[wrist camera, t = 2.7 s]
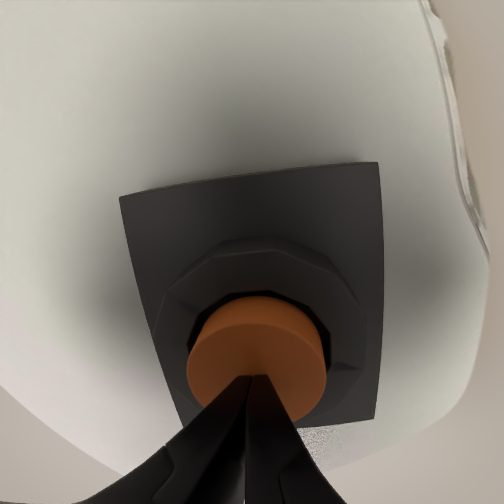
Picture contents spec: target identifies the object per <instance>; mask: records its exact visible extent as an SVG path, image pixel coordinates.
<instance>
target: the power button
mask: <svg viewBox="0 0 504 504" xmlns="http://www.w3.org/2000/svg"><path fill="white" fill-rule="evenodd" d="M259 374H267V375H268V376H269V378H270V380H271V382H272V384H273V386H274V388H275V390H276V392H277V394H278V395H279V397H280V399H281V401H282V403H283V405H284V407H285V409H286V411H287V413H288V415H289V417H290V418H291V420H292V422H294V421H296V420H298V419H300V418H302V417H303V416H305V415H306V414H307V413H309V412H310V411H311V410H312V409H313V408H314V407H315V406H316V404H317V403H318V402H319V400H320V398H321V397H322V394H323V392H324V390H325V386H326V377H327V376H326V367H325V361H324V356H323V350H322V344H321V339H320V336H319V332H318V330H317V328H316V326H315V325H314V323H313V322H312V320H311V319H310V318H309V317H308V316H307V315H306V314H305V313H304V312H303V311H302V310H300V309H299V308H297V307H296V306H294V305H292V304H290V303H288V302H286V301H283V300H280V299H277V298H273V297H267V296H249V297H243V298H239V299H235V300H233V301H230V302H228V303H226V304H224V305H223V306H221V307H219V308H218V309H217V310H216V311H214V312H213V313H212V314H211V315H210V317H209V318H208V319H207V321H206V322H205V324H204V326H203V328H202V330H201V332H200V334H199V336H198V338H197V341H196V343H195V345H194V347H193V349H192V351H191V353H190V355H189V358H188V362H187V379H188V383H189V386H190V389H191V391H192V393H193V395H194V396H195V398H196V399H197V400H198V402H199V403H200V404H201V405H202V406H203V407H204V408H205V407H206V406H207V405H208V404H209V403H210V402H211V401H212V400H213V399H214V398H215V397H216V396H217V395H219V394H220V393H221V392H222V391H223V390H224V389H225V388H226V387H227V386H228V385H229V384H230V383H231V382H232V381H233V380H234V379H235V378H236V377H237V376H239V375H251V376H252V377H253V376H254V375H259Z"/></svg>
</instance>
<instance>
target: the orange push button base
mask: <svg viewBox="0 0 504 504" xmlns="http://www.w3.org/2000/svg"><path fill="white" fill-rule="evenodd" d="M119 202H120V208H121V213H122V218H123V224H124V229H125V233H126V238H127V243H128V248H129V252H130V257H131V261H132V265H133V269H134V274H135V278H136V282H137V286H138V290H139V293H140V297H141V301H142V305H143V308H144V312H145V315H146V319H147V323H148V326H149V329H150V333H151V336H152V339H153V343H154V346H155V349H156V352H157V355H158V358H159V361H160V365H161V368H162V371H163V373H164V376H165V379H166V382H167V385H168V388H169V391H170V393H171V396H172V399H173V402H174V404H175V407H176V410H177V412H178V415H179V418H180V420H181V423H182V425H183V428H184V427H185V426H186V425H187V424H188V423H189V422H190V421H191V420H192V419H193V418H194V417H196V416H197V415H198V414H199V413H200V412H201V411H202V410H203V409H204V407H203V406H202V405H201V404H200V403H199V402H198V400H197V399H196V398H195V396H194V395H193V393H192V391H191V389H190V386H189V383H188V379H187V362H188V358H189V355H190V353H191V351H192V349H193V347H194V345H195V343H196V341H197V338H198V336H199V334H200V332H201V330H202V328H203V326H204V324H205V322H206V321H207V319H208V318H209V317H210V315H211V314H212V313H213V312H214V311H216V310H217V309H218V308H219V307H221V306H223V305H224V304H226V303H228V302H230V301H233V300H235V299H239V298H243V297H249V296H267V297H273V298H277V299H280V300H283V301H286V302H288V303H290V304H292V305H294V306H296V307H297V308H299V309H300V310H302V311H303V312H304V313H305V314H306V315H307V316H308V317H309V318H310V319H311V320H312V322H313V323H314V325H315V326H316V328H317V330H318V332H319V336H320V339H321V344H322V350H323V356H324V361H325V367H326V376H327V377H326V386H325V390H324V392H323V394H322V397H321V398H320V400H319V402H318V403H317V404H316V406H315V407H314V408H313V409H312V410H311V411H310V412H309V413H307V414H306V415H305V416H303V417H302V418H300V419H298V420H296V421H294V422H293V424H294V426H295V428H308V427H319V426H328V425H336V424H344V423H351V422H358V421H364V420H370V419H374V416H375V408H376V401H377V392H378V383H379V373H380V362H381V349H382V333H383V310H384V240H383V217H382V201H381V187H380V176H379V166H378V162H354V163H341V164H329V165H318V166H308V167H298V168H289V169H280V170H272V171H264V172H256V173H249V174H241V175H234V176H227V177H221V178H214V179H208V180H202V181H195V182H190V183H184V184H178V185H172V186H167V187H161V188H156V189H151V190H146V191H141V192H137V193H133V194H129V195H125V196H121V197H119Z"/></svg>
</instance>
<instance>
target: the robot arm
mask: <svg viewBox="0 0 504 504" xmlns="http://www.w3.org/2000/svg"><path fill="white" fill-rule="evenodd" d="M244 500H245V504H347V503H345V501H344V500H343V499H342V498H341V496H339V494H338V493H337V492H336V491H335V489H333V487H332V486H331V485H330V484H329V482H328V481H327V479H326V478H325V477H324V476H323V474H322V473H321V472H320V470H319V468H318V467H317V465H316V464H315V462H314V460H313V459H312V457H311V455H310V453H309V452H308V450H307V448H306V446H305V445H304V443H303V441H302V439H301V437H300V435H299V433H298V432H297V430H296V428H295V426H294V424H293V422H292V420H291V418H290V417H289V415H288V413H287V411H286V409H285V407H284V405H283V403H282V401H281V399H280V397H279V395H278V394H277V392H276V390H275V388H274V386H273V384H272V382H271V380H270V378H269V376H268V375H267V374H259V375H254V376H253V377H252V376H251V375H239V376H237V377H236V378H235V379H234V380H233V381H232V382H231V383H230V384H229V385H228V386H227V387H226V388H225V389H224V390H223V391H222V392H221V393H220V394H219V395H217V396H216V397H215V398H214V399H213V400H212V401H211V402H210V403H209V404H208V405H207V406H206V407H205V408H204V409H203V410H202V411H201V412H200V413H199V414H198V415H197V416H196V417H194V418H193V419H192V420H191V421H190V422H189V423H188V424H187V425H186V426H185V427H184V428H183V429H182V430H180V431H179V432H178V433H177V434H176V435H175V436H174V437H173V438H172V439H171V440H169V441H168V442H167V443H166V444H165V446H163V447H161V448H160V449H159V450H158V451H157V452H156V453H155V454H153V455H152V456H151V457H150V458H149V459H147V460H146V461H145V462H144V463H142V464H141V465H140V466H138V467H137V468H135V469H134V470H133V471H131V472H130V473H128V474H127V475H125V476H124V477H122V478H121V479H119V480H118V481H116V482H115V483H113V484H111V485H110V486H108V487H107V488H105V489H103V490H102V491H100V492H98V493H97V494H96V495H93V496H92V497H90V498H88V499H86V500H83V501H81V502H77V503H73V504H244ZM0 504H25V503H11V502H2V501H0Z"/></svg>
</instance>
